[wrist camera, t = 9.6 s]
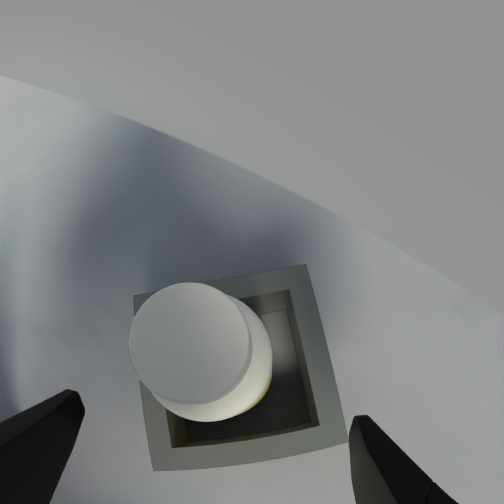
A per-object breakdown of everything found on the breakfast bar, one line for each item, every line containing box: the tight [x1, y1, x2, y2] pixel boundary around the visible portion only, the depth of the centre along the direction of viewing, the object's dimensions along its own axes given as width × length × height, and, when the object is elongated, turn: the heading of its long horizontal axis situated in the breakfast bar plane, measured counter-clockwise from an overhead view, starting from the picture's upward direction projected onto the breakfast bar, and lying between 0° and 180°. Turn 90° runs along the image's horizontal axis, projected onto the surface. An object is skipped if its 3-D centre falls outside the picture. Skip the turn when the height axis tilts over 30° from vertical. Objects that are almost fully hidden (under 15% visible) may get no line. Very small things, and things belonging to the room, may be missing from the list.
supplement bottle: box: [128, 282, 273, 422], centre depth 14 cm, size 5×5×10 cm
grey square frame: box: [134, 264, 349, 471], centre depth 17 cm, size 10×10×4 cm
